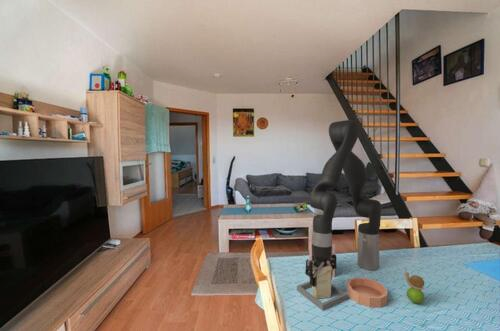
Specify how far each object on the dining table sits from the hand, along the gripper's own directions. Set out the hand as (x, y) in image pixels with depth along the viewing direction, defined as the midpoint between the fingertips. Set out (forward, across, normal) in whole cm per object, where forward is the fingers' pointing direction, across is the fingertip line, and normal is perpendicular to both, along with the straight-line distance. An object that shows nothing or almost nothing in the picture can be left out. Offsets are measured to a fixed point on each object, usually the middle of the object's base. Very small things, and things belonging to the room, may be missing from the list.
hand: (321, 282), depth 93 cm
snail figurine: (+5, -27, +20) cm, 34 cm away
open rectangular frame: (+5, 0, 0) cm, 5 cm away
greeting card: (+5, -14, -13) cm, 20 cm away
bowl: (+5, -15, +9) cm, 18 cm away
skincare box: (+5, 0, 0) cm, 5 cm away
